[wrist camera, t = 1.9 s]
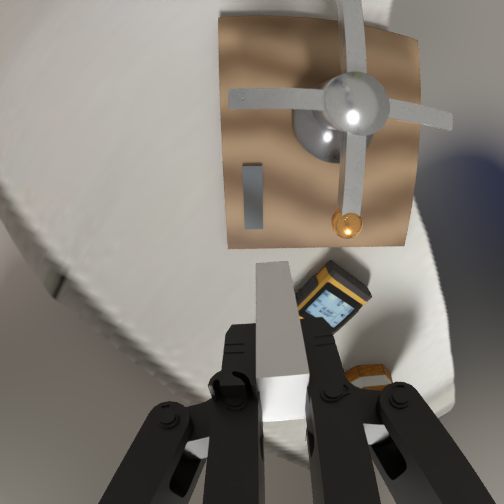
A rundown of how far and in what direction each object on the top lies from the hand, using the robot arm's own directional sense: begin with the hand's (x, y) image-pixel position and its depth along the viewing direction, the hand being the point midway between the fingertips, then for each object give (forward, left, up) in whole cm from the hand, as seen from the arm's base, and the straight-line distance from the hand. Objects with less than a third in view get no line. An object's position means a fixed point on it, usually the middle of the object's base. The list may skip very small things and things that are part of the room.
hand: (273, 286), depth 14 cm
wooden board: (-6, +7, -19) cm, 21 cm away
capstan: (-9, +7, -17) cm, 21 cm away
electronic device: (+18, +7, -20) cm, 27 cm away
